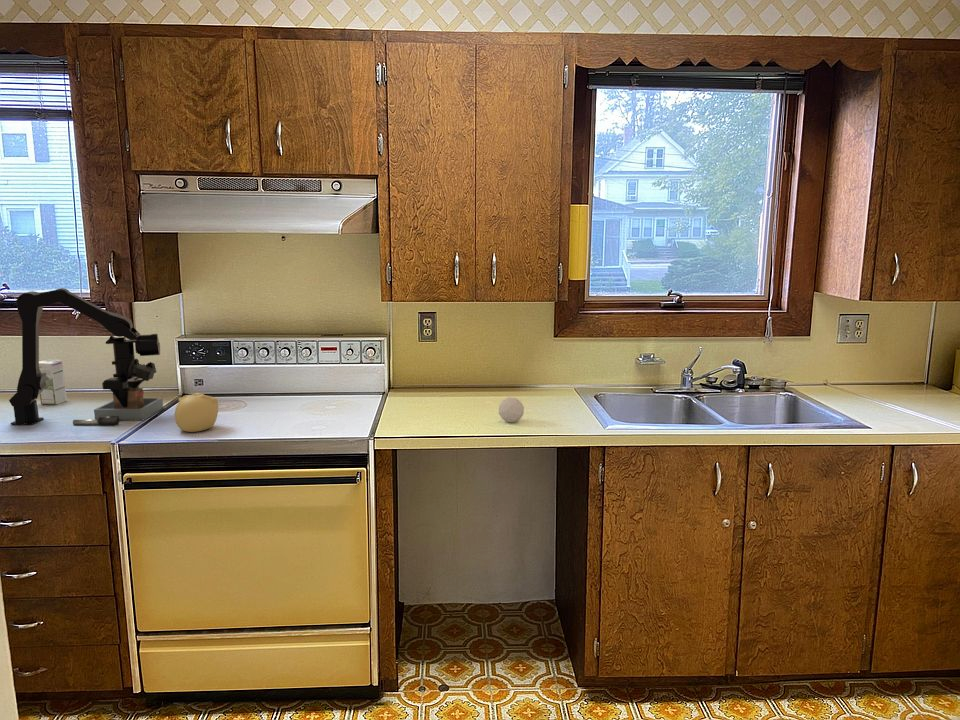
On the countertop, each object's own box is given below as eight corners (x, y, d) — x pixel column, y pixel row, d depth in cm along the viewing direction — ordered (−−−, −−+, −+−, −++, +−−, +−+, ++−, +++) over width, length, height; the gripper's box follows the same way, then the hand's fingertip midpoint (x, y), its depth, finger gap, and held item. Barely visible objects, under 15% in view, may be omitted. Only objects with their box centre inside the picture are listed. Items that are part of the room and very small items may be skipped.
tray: (142, 420, 216) (141, 409, 216) (95, 420, 216) (93, 409, 216) (163, 408, 231) (162, 397, 230) (118, 408, 231) (117, 398, 230)
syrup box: (67, 400, 241) (62, 359, 238) (55, 405, 235) (50, 362, 232) (52, 400, 241) (47, 359, 239) (39, 404, 236) (34, 362, 233)
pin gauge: (119, 423, 213) (118, 415, 213) (115, 425, 211) (114, 417, 210) (76, 423, 213) (75, 415, 213) (72, 426, 210) (71, 417, 210)
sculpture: (224, 423, 213) (221, 389, 211) (209, 435, 201) (206, 398, 199) (186, 423, 213) (183, 389, 211) (169, 435, 201) (166, 398, 199)
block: (137, 410, 221) (135, 391, 220) (114, 410, 221) (112, 391, 220) (144, 406, 226) (143, 387, 225) (122, 406, 226) (120, 387, 225)
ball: (517, 431, 214) (527, 414, 209) (493, 423, 213) (503, 406, 208) (519, 413, 220) (529, 397, 215) (495, 405, 219) (505, 388, 214)
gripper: (136, 362, 211) (140, 412, 214) (163, 351, 229) (167, 398, 232) (98, 362, 211) (104, 412, 214) (129, 351, 229) (133, 398, 232)
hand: (129, 405), depth 223 cm, fingers closed on block, 5 cm apart
